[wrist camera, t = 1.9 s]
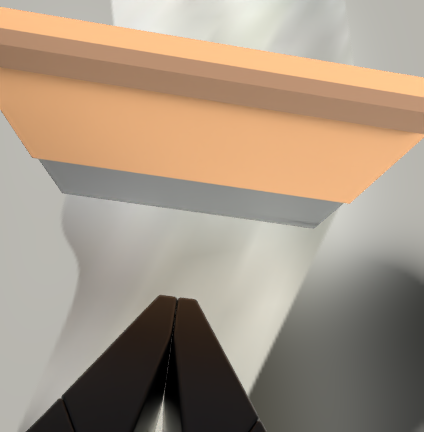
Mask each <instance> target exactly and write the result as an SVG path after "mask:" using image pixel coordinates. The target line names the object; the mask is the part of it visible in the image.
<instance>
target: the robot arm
mask: <svg viewBox="0 0 424 432" xmlns="http://www.w3.org/2000/svg"><path fill="white" fill-rule="evenodd" d="M176 306H177V307H176ZM175 313H176V314H175ZM174 320H175V321H174ZM173 327H174V328H173ZM172 334H173V335H172ZM171 341H172V342H171ZM170 348H171V349H170ZM169 355H170V356H169ZM168 362H169V364H168ZM167 369H168V371H167ZM166 376H167V378H166ZM165 383H166V385H165ZM164 390H165V393H164ZM163 396H164V402H163ZM162 402H163V432H267V431H266V429H265V427H264V425H263V423H262V421H260V420H259V416H258V414H257V412H256V411H255V409H254V407H253V405H252V403H251V401H250V399H249V397H248V396H247V394H246V392H245V390H244V388H243V386H242V384H241V382H240V381H239V379H238V377H237V375H236V373H235V371H234V369H233V367H232V366H231V364H230V362H229V360H228V358H227V356H226V354H225V352H224V351H223V349H222V347H221V345H220V343H219V341H218V339H217V338H216V336H215V334H214V332H213V330H212V328H211V326H210V324H209V323H208V321H207V319H206V317H205V315H204V313H203V311H202V309H201V308H200V306H199V304H198V302H197V301H196V300H195V299H188V298H179V299H178V300H177V298H176V297H172V296H165V295H159V296H158V297H157V298H156V299H155V300H154V301H153V302H152V303H151V304H150V305H149V306H148V307H147V308H146V309H145V310H144V311H143V312H142V313H141V314H140V315H139V316H138V317H137V318H136V319H135V321H134V322H133V323H132V324H131V325H130V326H129V327H128V328H127V329H126V330H125V331H124V332H123V333H122V334H121V335H120V336H119V337H118V338H117V339H116V340H115V341H114V342H113V343H112V344H111V345H110V346H109V347H108V348H107V350H106V351H105V352H104V353H103V354H102V355H101V356H100V357H99V358H98V359H97V360H96V361H95V362H94V363H93V364H92V365H91V366H90V367H89V368H88V369H87V370H86V371H85V372H84V373H83V374H82V375H81V376H80V377H79V378H78V380H77V381H76V382H75V383H74V384H73V385H72V386H71V387H70V388H69V389H68V390H67V391H66V392H65V393H64V394H63V395H62V399H58V400H57V401H56V402H55V403H54V404H53V405H52V406H51V407H50V408H49V409H48V410H47V411H46V412H45V413H44V415H43V416H42V417H40V418H39V419H38V420H37V421H36V422H35V423H34V424H33V425H32V426H31V427H30V428H29V429H28V430H27V431H26V432H155V429H156V425H157V422H158V418H159V414H160V410H161V406H162Z"/></svg>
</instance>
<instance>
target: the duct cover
mask: <svg viewBox="0 0 424 432" xmlns="http://www.w3.org/2000/svg"><path fill="white" fill-rule="evenodd" d="M0 110H1V111H2V113H3V114H4V116H5V117H6V119H7V120H8V122H9V123H10V125H11V126H12V128H13V129H14V131H15V132H16V134H17V135H18V137H19V138H20V140H21V141H22V143H23V145H24V146H25V148H26V149H27V150H28V152H29V154H30V155H31V157H32V158H38V159H45V160H51V161H58V162H65V163H72V164H79V165H86V166H93V167H100V168H107V169H113V170H120V171H127V172H134V173H141V174H148V175H155V176H162V177H169V178H176V179H182V180H189V181H196V182H203V183H210V184H217V185H224V186H231V187H238V188H245V189H251V190H258V191H265V192H272V193H279V194H286V195H293V196H300V197H307V198H313V199H320V200H327V201H334V202H341V203H348V204H350V203H351V202H352V201H353V200H354V199H355V198H356V197H357V196H359V195H360V194H361V193H362V192H363V191H364V190H365V189H366V188H368V187H369V186H370V185H371V184H372V183H373V182H374V181H375V180H377V179H378V178H379V177H380V176H381V175H382V174H383V173H385V171H387V170H388V169H389V168H390V167H391V166H392V165H393V164H395V163H396V162H397V161H398V160H399V159H400V158H401V157H402V156H403V155H405V154H406V153H407V152H408V151H409V150H410V149H411V148H413V147H414V146H415V145H416V144H417V143H418V142H419V141H420V140H421V139H423V138H424V78H422V77H417V76H410V75H404V74H399V73H392V72H387V71H381V70H374V69H368V68H363V67H357V66H351V65H345V64H339V63H333V62H327V61H321V60H315V59H309V58H303V57H297V56H291V55H285V54H279V53H273V52H267V51H261V50H255V49H249V48H243V47H237V46H231V45H225V44H219V43H213V42H207V41H201V40H195V39H189V38H183V37H177V36H171V35H165V34H159V33H153V32H147V31H141V30H135V29H129V28H123V27H117V26H111V25H105V24H99V23H93V22H87V21H81V20H75V19H69V18H63V17H57V16H51V15H45V14H39V13H33V12H27V11H21V10H15V9H9V8H3V7H0Z"/></svg>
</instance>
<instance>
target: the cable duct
mask: <svg viewBox="0 0 424 432" xmlns="http://www.w3.org/2000/svg"><path fill="white" fill-rule="evenodd" d="M39 160H40V162H41V163H42V165H43V166H44V167H45V169H46V170H47V172H48V173H49V175H50V176H51V177H52V179H53V180H54V181H55V183H56V185H57V186H58V187H59V189H60V190H61V192H62V193H65V194H72V195H80V196H87V197H94V198H101V199H108V200H115V201H122V202H129V203H137V204H144V205H151V206H158V207H165V208H172V209H179V210H186V211H194V212H201V213H208V214H215V215H222V216H229V217H236V218H243V219H251V220H258V221H265V222H272V223H279V224H286V225H293V226H300V227H308V228H315V227H316V226H317V225H319V224H320V223H321V222H322V221H323V220H324V219H326V218H327V217H328V216H329V215H330V214H332V213H333V212H334V211H335V210H336V209H337V208H339V207H340V206H341V205H342V204H343V203H341V202H334V201H327V200H320V199H313V198H307V197H300V196H293V195H286V194H279V193H272V192H265V191H258V190H251V189H245V188H238V187H231V186H224V185H217V184H210V183H203V182H196V181H189V180H182V179H176V178H169V177H162V176H155V175H148V174H141V173H134V172H127V171H120V170H113V169H107V168H100V167H93V166H86V165H79V164H72V163H65V162H58V161H51V160H45V159H39Z"/></svg>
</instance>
